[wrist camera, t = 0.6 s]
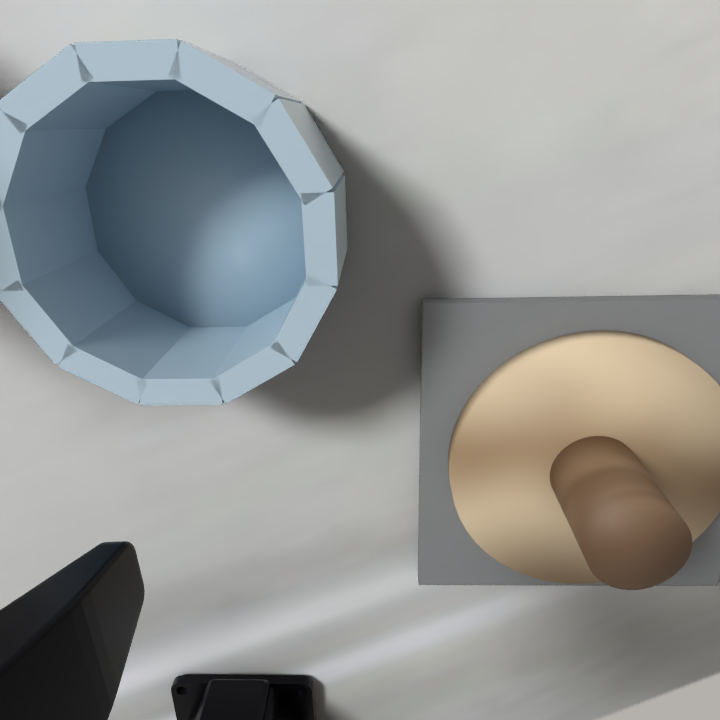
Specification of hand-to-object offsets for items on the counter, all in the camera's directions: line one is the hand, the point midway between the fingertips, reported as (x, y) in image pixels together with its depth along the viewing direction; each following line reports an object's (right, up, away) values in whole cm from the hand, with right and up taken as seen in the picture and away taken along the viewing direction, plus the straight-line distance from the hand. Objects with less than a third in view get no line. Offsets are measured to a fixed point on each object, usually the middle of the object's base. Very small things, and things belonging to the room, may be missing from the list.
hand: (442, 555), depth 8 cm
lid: (+7, -1, +13) cm, 15 cm away
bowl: (-6, +8, +11) cm, 15 cm away
